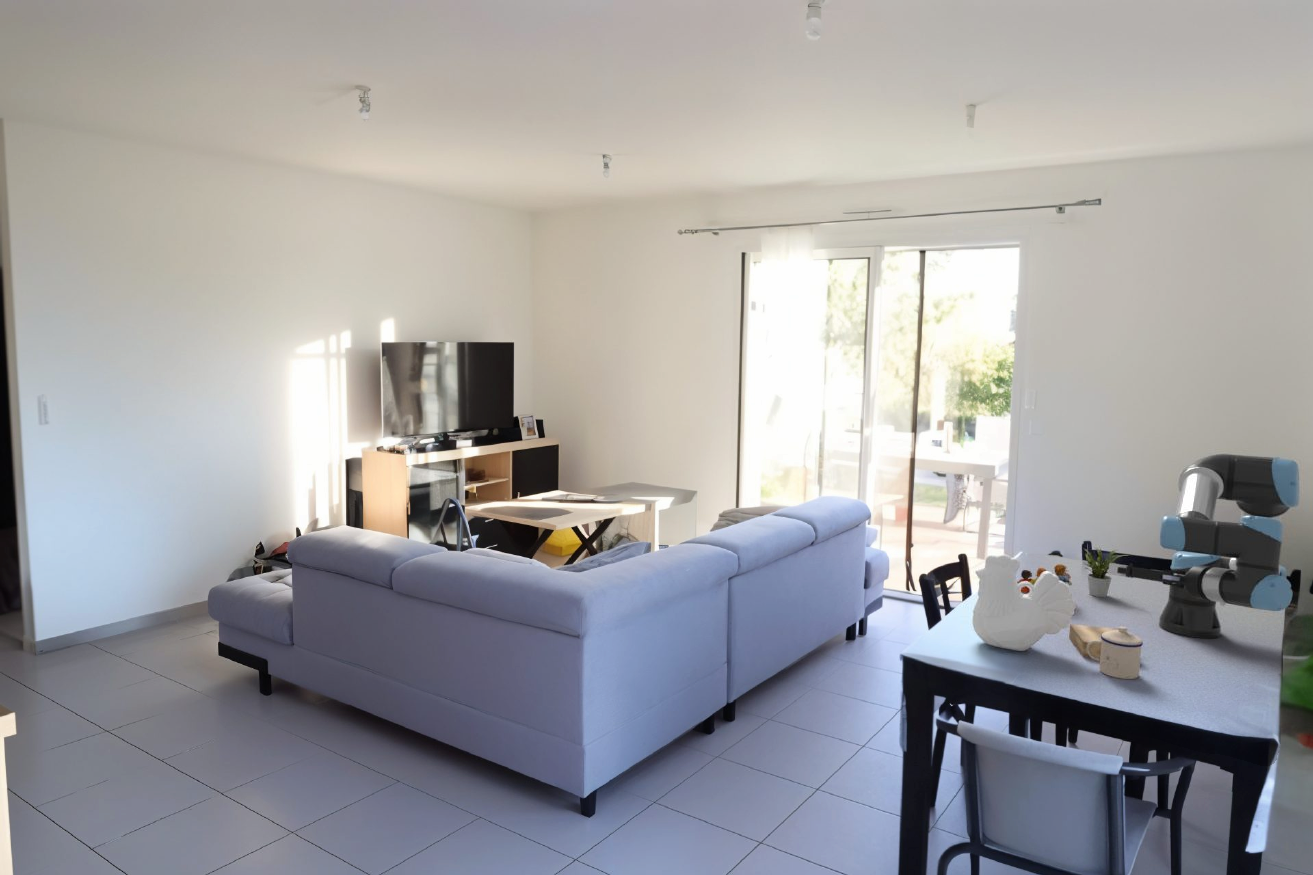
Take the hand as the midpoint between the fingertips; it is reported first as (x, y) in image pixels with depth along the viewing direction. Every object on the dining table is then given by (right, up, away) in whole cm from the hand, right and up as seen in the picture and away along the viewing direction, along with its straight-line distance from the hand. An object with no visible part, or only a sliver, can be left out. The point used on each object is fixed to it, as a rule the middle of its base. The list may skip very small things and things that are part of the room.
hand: (1130, 571), depth 211 cm
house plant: (+30, -19, +71) cm, 80 cm away
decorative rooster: (-20, -23, +17) cm, 35 cm away
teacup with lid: (-4, -25, +2) cm, 26 cm away
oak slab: (+2, -24, +18) cm, 30 cm away
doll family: (+6, -20, +58) cm, 61 cm away
